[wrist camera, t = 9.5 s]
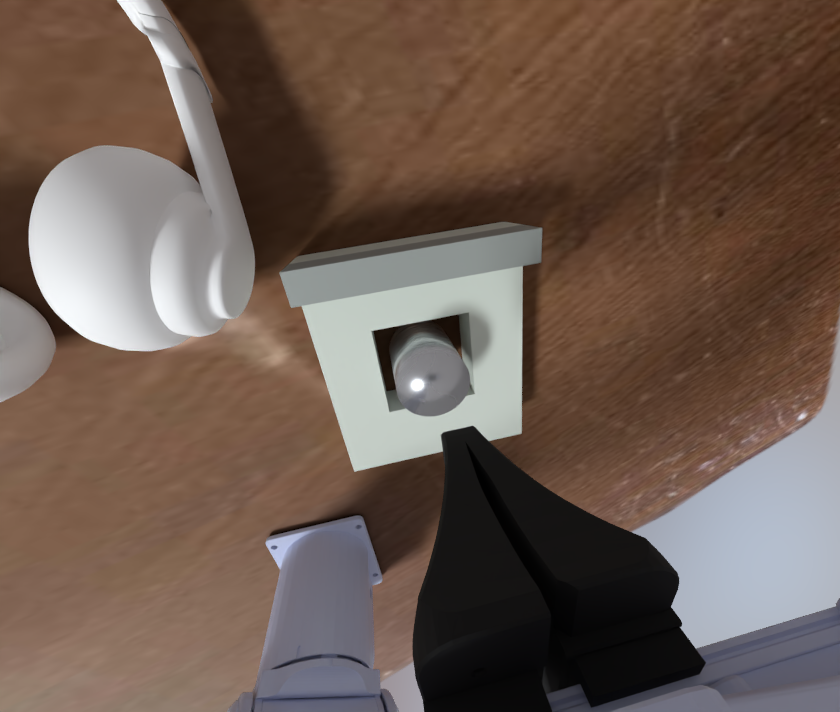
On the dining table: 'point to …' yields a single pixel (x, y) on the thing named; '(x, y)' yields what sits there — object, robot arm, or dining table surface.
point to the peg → (427, 369)
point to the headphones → (135, 235)
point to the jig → (409, 303)
